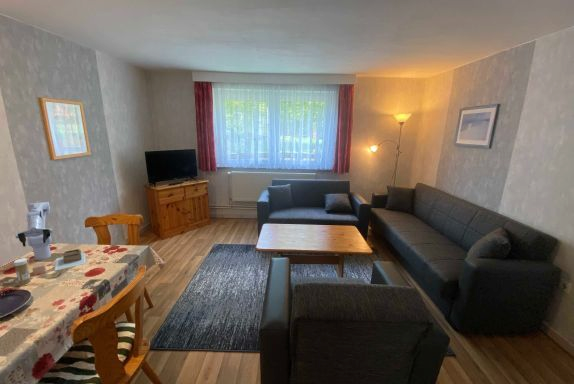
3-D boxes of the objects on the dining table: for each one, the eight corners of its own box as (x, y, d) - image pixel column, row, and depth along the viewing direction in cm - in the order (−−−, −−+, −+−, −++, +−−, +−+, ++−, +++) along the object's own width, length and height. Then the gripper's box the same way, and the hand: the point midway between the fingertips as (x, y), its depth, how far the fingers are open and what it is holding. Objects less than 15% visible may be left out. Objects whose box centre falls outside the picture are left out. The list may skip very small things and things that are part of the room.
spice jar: (30, 285, 128) (25, 261, 125) (17, 287, 126) (11, 263, 123) (32, 280, 132) (27, 257, 129) (20, 283, 129) (15, 259, 126)
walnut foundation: (64, 258, 154) (63, 251, 153) (81, 254, 159) (80, 248, 158) (64, 263, 148) (63, 256, 147) (81, 259, 153) (80, 253, 152)
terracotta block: (35, 273, 139) (33, 264, 138) (46, 270, 142) (44, 262, 141) (34, 276, 135) (32, 268, 134) (45, 274, 138) (44, 265, 137)
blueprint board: (56, 260, 153) (55, 258, 152) (85, 254, 162) (85, 252, 161) (54, 272, 140) (54, 270, 140) (86, 264, 149) (86, 263, 149)
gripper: (14, 224, 136) (12, 241, 128) (50, 219, 145) (51, 235, 137) (17, 233, 139) (16, 250, 131) (53, 228, 149) (53, 244, 141)
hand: (34, 243), depth 134 cm, fingers open, 7 cm apart
